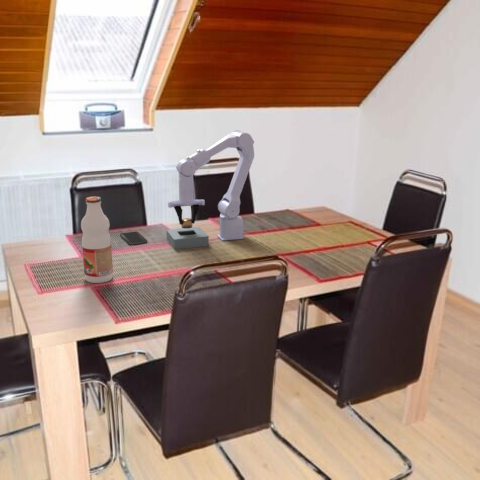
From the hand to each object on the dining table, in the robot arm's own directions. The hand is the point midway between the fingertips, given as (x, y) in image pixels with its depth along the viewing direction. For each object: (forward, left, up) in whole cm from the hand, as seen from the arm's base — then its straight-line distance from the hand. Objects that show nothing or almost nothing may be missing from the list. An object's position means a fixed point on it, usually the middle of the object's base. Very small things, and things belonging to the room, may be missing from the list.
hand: (186, 223), depth 224 cm
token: (0, 0, -1) cm, 1 cm away
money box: (0, 0, -8) cm, 8 cm away
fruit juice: (+38, +29, -8) cm, 49 cm away
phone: (+20, -11, -9) cm, 24 cm away
